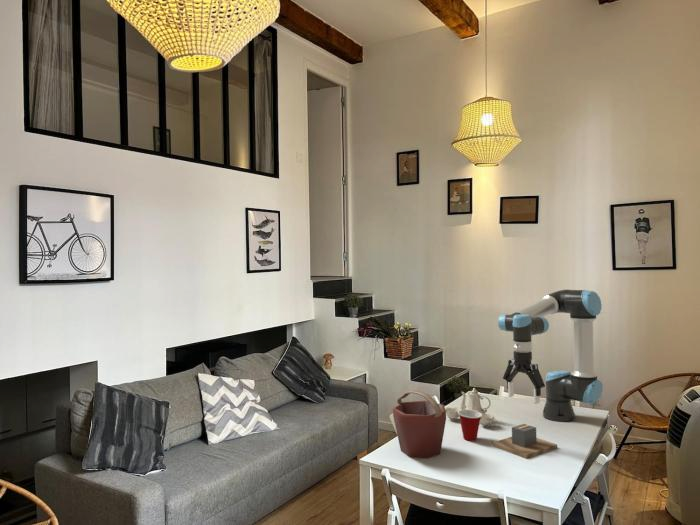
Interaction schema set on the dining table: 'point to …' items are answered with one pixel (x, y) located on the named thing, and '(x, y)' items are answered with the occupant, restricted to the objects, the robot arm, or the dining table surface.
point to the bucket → (420, 426)
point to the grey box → (524, 435)
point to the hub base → (527, 451)
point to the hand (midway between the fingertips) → (523, 399)
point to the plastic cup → (469, 423)
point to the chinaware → (472, 408)
